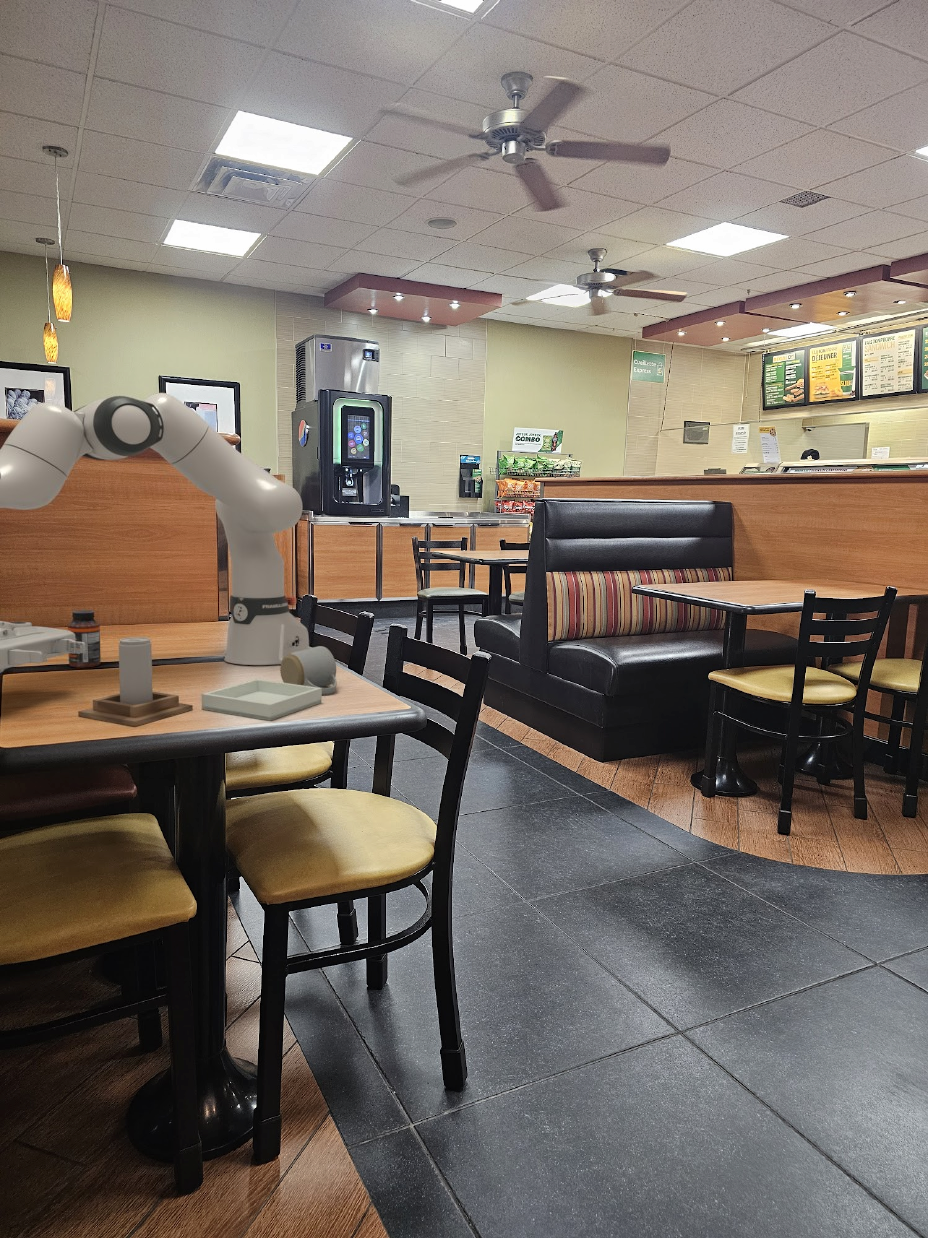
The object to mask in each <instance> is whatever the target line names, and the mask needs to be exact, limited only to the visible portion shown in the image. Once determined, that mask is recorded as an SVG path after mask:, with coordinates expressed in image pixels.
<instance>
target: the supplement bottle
mask: <svg viewBox="0 0 928 1238" xmlns="http://www.w3.org/2000/svg"><path fill="white" fill-rule="evenodd" d="M71 618H72V619H71V621H70V622H68V624H67V630H68V631H71V632H73V633H74V634H75V641H76V642H84V643H85V652H83V653H79V654H76V653H68V666H70V667H72V668H77V669H85V668H86V669H87V668H93V667H98V666H100V665H101V662H102V661H101V660H102V659H101V629H100V627H101V626H100V623H99V622H98V621H97V620H95V611H94V610H90V609H82V610H80V609H79V610H73V611H72V617H71Z"/></svg>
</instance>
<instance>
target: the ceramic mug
mask: <svg viewBox="0 0 928 1238" xmlns="http://www.w3.org/2000/svg"><path fill="white" fill-rule="evenodd" d="M279 669H280V670H279V671H280V677H281V680H282V683H289V684H296V685H303V686H310V687H317V688H322V696H327V694H329V695H332V694H334V693H335V691H336V690H337V685H338V682H337V679H336V675H337V664H336V660H335V657H334V655H333V654H332V652H331V651H330V650H329V649H328V648H327V647H325V646H320V645H319V646H314V647H313V648H310V649H306V650H302V651H297V652H293V653H290V654H288V655H287V656H285V657H284V658H283V660H282V662H281V664H280V668H279ZM331 685H332V686H331ZM330 686H331V687H330Z"/></svg>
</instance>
